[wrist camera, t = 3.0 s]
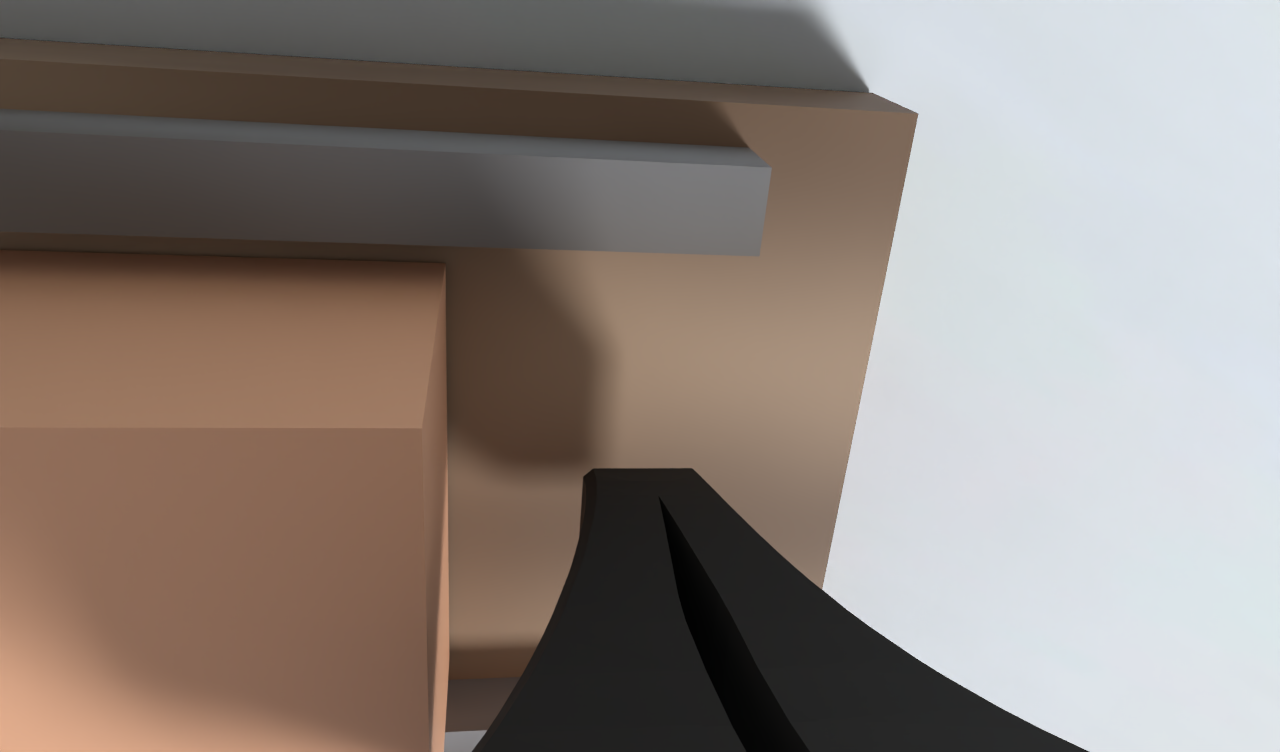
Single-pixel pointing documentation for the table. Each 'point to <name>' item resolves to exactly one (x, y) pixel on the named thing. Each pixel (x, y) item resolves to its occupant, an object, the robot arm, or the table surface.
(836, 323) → the keeper track
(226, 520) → the block
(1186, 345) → the table surface
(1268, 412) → the table surface
